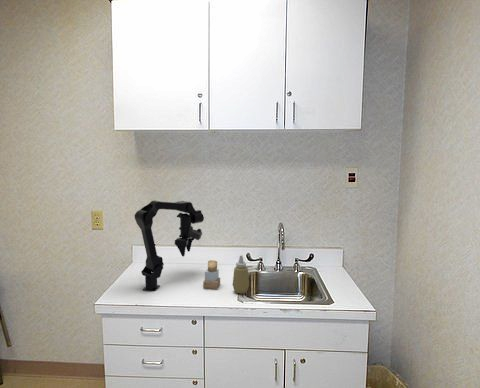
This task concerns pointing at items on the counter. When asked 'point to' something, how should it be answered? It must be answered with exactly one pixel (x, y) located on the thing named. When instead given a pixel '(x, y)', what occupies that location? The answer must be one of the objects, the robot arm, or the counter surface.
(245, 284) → the squeeze bottle
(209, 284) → the walnut base block
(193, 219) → the robot arm
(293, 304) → the counter surface
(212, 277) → the blue-grey square block
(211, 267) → the tan wooden cylinder
